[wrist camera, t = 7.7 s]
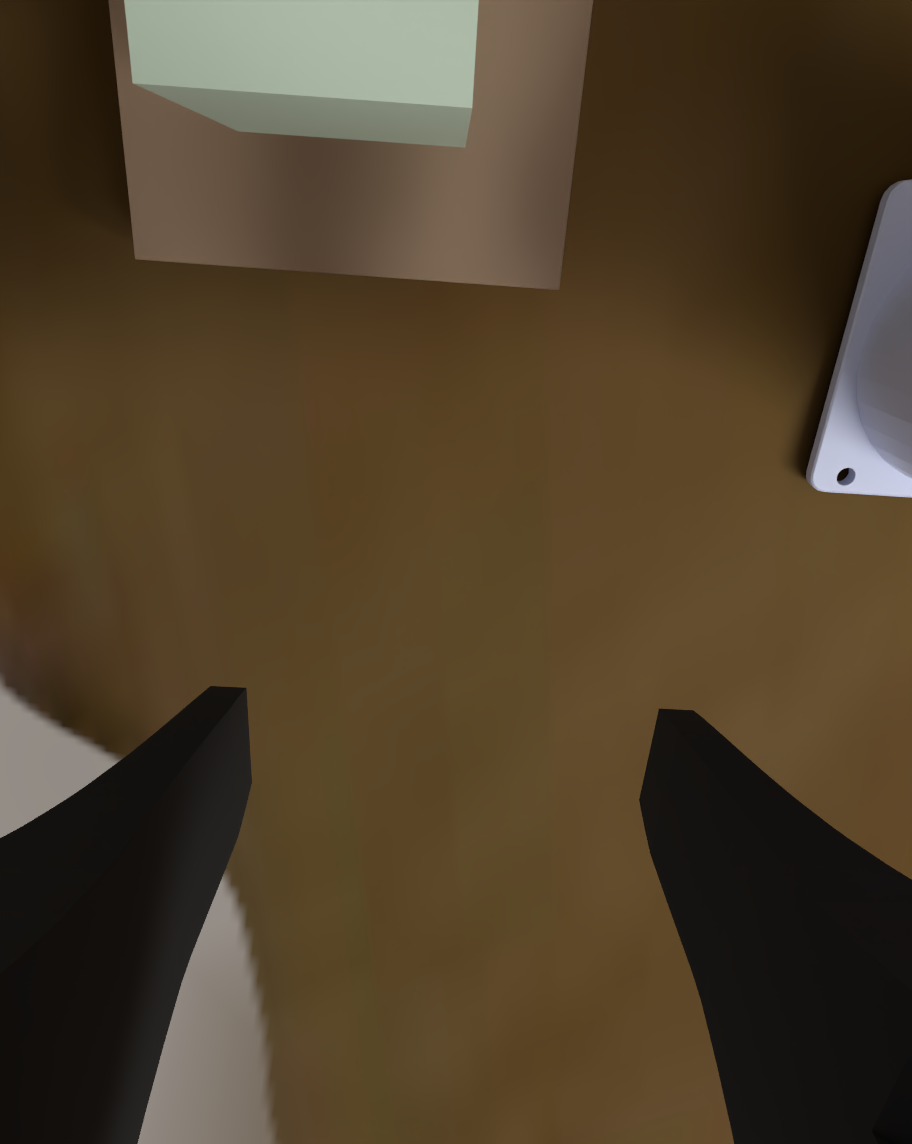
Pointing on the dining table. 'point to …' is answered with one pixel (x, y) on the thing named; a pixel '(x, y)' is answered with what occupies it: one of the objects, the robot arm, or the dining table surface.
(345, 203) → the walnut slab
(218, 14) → the green block
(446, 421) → the dining table surface
